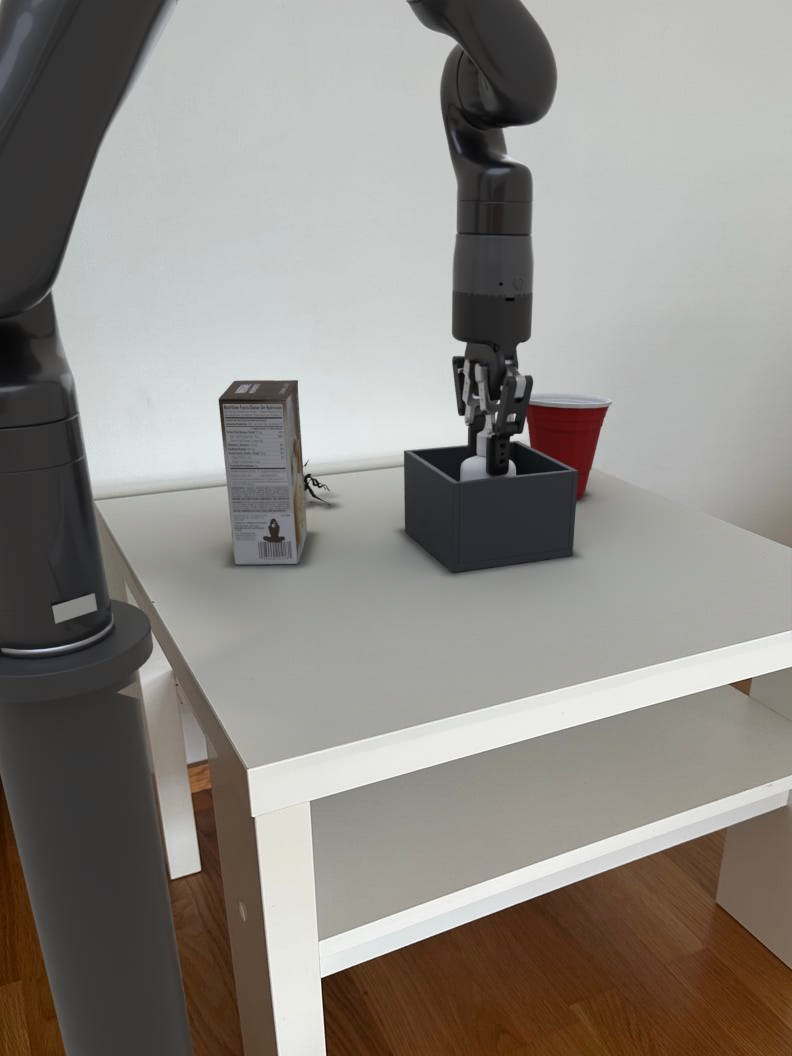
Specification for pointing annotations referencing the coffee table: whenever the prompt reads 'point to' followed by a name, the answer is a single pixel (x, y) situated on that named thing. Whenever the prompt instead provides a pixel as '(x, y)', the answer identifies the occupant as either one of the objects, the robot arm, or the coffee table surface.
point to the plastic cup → (567, 429)
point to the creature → (306, 485)
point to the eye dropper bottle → (481, 462)
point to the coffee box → (264, 470)
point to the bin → (489, 508)
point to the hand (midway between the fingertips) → (487, 467)
